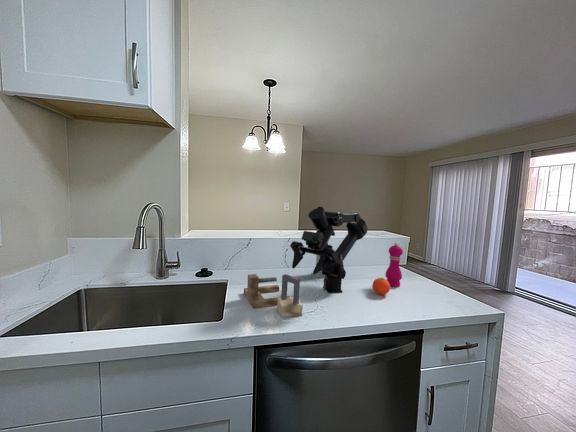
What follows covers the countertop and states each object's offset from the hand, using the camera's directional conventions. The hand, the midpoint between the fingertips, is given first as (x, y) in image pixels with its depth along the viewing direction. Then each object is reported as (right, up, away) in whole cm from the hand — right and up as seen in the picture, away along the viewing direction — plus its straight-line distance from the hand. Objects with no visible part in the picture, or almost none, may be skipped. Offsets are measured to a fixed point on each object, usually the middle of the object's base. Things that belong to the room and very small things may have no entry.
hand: (302, 270), depth 91 cm
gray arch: (-5, -9, -4) cm, 11 cm away
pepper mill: (+44, -13, +29) cm, 54 cm away
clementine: (+33, -13, +17) cm, 40 cm away
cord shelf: (-12, -12, +7) cm, 18 cm away
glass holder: (+15, -11, +38) cm, 42 cm away
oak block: (-5, -13, -4) cm, 14 cm away
